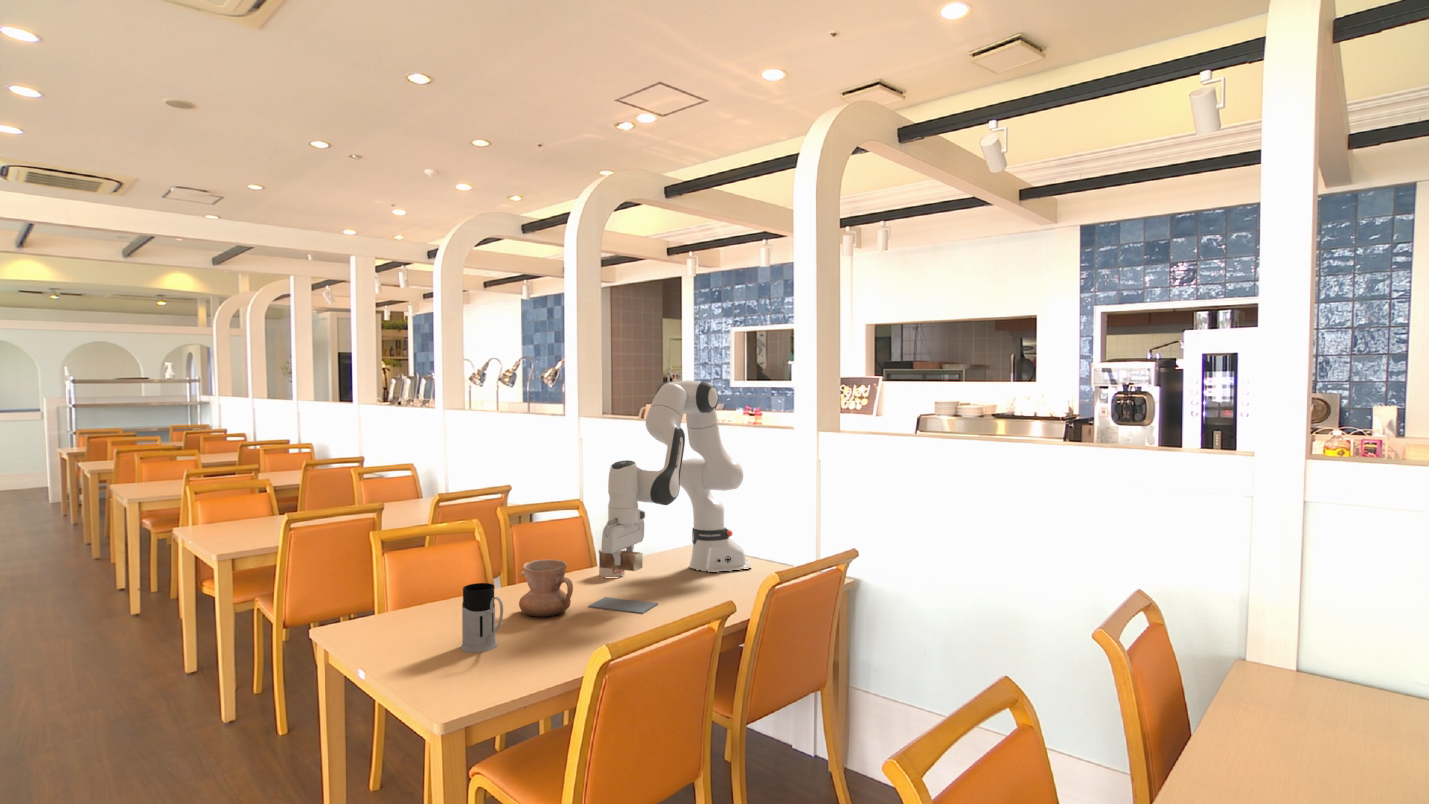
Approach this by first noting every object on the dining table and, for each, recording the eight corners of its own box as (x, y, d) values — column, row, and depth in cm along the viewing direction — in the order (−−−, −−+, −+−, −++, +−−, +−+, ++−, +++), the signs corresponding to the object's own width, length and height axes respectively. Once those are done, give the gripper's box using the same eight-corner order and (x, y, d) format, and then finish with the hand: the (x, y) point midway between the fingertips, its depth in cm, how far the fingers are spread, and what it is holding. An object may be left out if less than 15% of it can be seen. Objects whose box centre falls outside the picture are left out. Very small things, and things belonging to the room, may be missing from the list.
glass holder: (484, 638, 195) (483, 580, 194) (517, 650, 186) (517, 589, 185) (453, 647, 188) (453, 587, 188) (486, 660, 179) (486, 597, 179)
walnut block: (599, 552, 224) (635, 555, 219) (606, 549, 228) (642, 552, 223) (599, 567, 224) (635, 571, 219) (606, 564, 228) (642, 567, 223)
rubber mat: (588, 607, 222) (588, 605, 222) (605, 598, 231) (605, 597, 231) (643, 613, 216) (643, 612, 216) (658, 604, 225) (658, 603, 225)
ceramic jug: (504, 615, 214) (504, 565, 214) (539, 601, 227) (539, 555, 227) (553, 626, 206) (554, 574, 205) (587, 611, 218) (587, 563, 218)
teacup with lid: (615, 580, 253) (615, 545, 253) (593, 577, 257) (593, 543, 257) (634, 572, 264) (634, 539, 264) (612, 569, 268) (612, 537, 268)
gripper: (615, 522, 212) (615, 571, 212) (647, 511, 231) (647, 556, 231) (595, 521, 215) (596, 569, 215) (629, 510, 234) (629, 554, 234)
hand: (623, 562), depth 223 cm, fingers closed on walnut block, 4 cm apart
